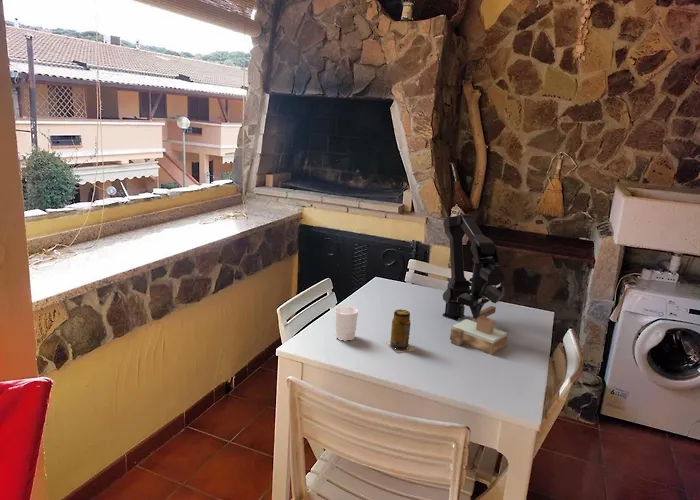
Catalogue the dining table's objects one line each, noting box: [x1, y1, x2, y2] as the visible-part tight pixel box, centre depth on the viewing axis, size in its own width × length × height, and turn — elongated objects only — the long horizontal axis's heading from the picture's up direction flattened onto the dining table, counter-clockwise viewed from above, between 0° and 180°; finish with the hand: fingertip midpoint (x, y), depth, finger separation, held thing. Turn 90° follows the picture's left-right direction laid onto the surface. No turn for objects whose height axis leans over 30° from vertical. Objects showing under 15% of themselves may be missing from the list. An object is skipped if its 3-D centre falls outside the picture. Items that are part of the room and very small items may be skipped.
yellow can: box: [384, 308, 417, 353], centre depth 171 cm, size 7×8×12 cm
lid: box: [451, 316, 508, 343], centre depth 177 cm, size 16×10×6 cm, turn 47°
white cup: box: [334, 305, 359, 341], centre depth 176 cm, size 8×8×10 cm
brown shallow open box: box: [449, 318, 508, 356], centre depth 178 cm, size 16×15×5 cm
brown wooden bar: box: [474, 305, 497, 320], centre depth 189 cm, size 2×12×2 cm, turn 137°
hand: (475, 318), depth 184 cm, fingers closed
